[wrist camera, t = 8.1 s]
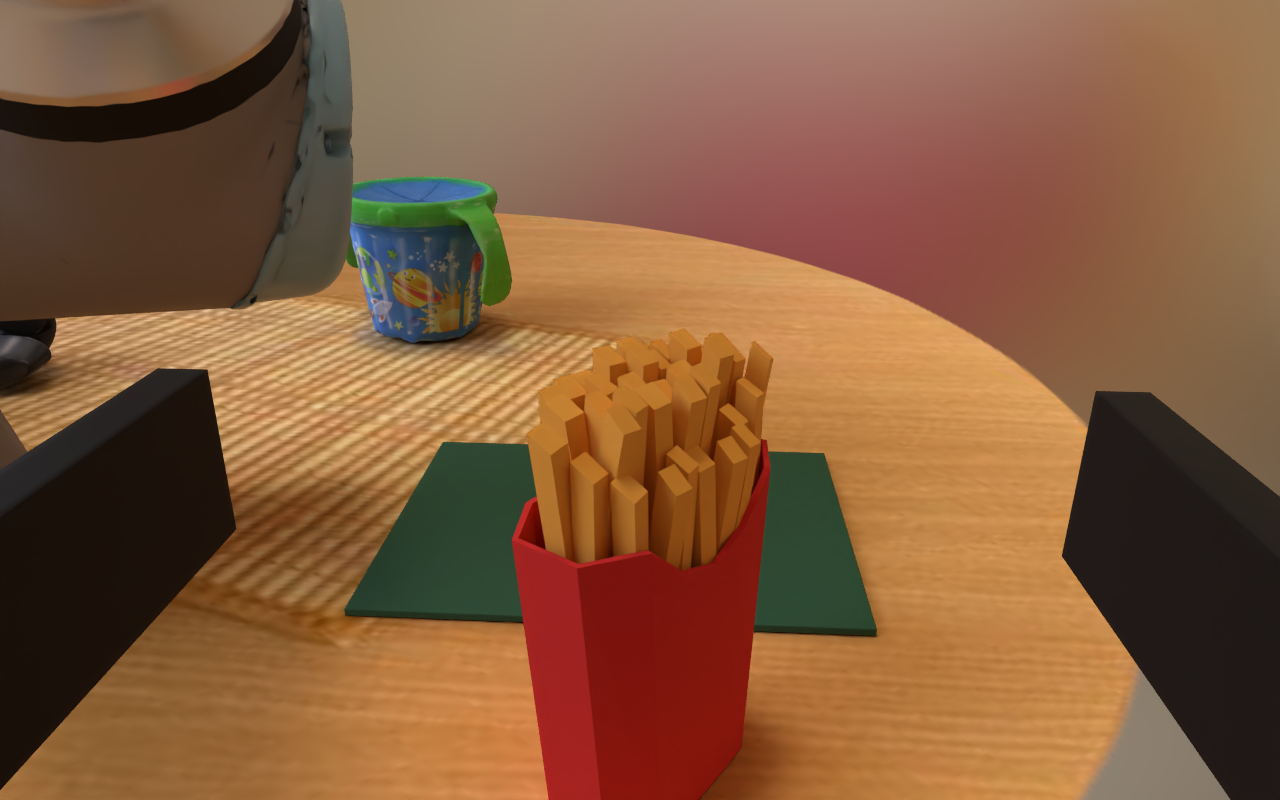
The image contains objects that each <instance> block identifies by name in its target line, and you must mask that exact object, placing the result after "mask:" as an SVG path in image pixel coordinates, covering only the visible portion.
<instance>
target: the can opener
mask: <svg viewBox="0 0 1280 800" xmlns="http://www.w3.org/2000/svg"><path fill="white" fill-rule="evenodd" d="M55 333H56V320H55V318H48V319H32V320H15V321H0V387H4V386H9V385H11V384H14V383H17V382H19V381H21V380H24V379H25V378H27V377H29V376H30V375H31V374H33V373H34V372H35V371H37V370H38V369H39V368H41V367H42V366H43V365H45V364H46V363H47V362H48V361H49V360H50V359H51V352H50V350H49V348H50V346H51V344H52V342H53V340H54V337H55Z"/></svg>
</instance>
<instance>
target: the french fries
mask: <svg viewBox="0 0 1280 800" xmlns="http://www.w3.org/2000/svg"><path fill="white" fill-rule="evenodd" d="M616 341H617V352H616V351H615V350H614V349H613V348H612V347H611V346H610V345H605V346H601V347H596V348H593V373H592V372H591V371H590V370H589V369H588V370H585V371H582V372H579V373H576V374H572V375H571V374H569V375H566V376H563V377H560V378H557V379H554V380H553V385H552V386H550V387H547V388H544V389H541V390H539V391H538V399H539V413H540V425H539V426H537V427H536V428H534V429H533V430H531V431H530V432H528V433H527V440H528V446H529V452H530V458H531V464H532V470H533V476H534V482H535V488H536V494H537V496H536V497H534V498H533V499H531V500H529V501H528V502H526V503H525V506H524V509H523V511H522V514H521V517H520V519H519V522H518V525H517V527H516V530H515V533H514V536H513V538H512V545H513V552H514V559H515V566H516V573H517V580H518V587H519V594H520V601H521V608H522V615H523V622H524V629H525V636H526V643H527V650H528V657H529V664H530V671H531V678H532V685H533V692H534V699H535V706H536V713H537V720H538V727H539V734H540V741H541V748H542V755H543V762H544V769H545V776H546V783H547V790H548V797H549V800H698V799H699V798H700V797H701V796H702V795H703V794H704V793H705V792H706V790H707V789H708V788H709V787H710V786H711V785H712V783H713V782H714V781H715V780H716V779H717V777H718V776H719V775H720V774H721V773H722V772H723V770H724V769H725V768H726V767H727V765H728V764H729V763H730V762H731V760H732V759H733V758H734V757H735V755H736V754H737V753H738V751H739V750H740V749H741V747H742V737H743V728H744V718H745V708H746V699H747V689H748V680H749V670H750V660H751V651H752V641H753V631H754V622H755V612H756V603H757V593H758V583H759V574H760V564H761V555H762V545H763V535H764V526H765V516H766V507H767V497H768V487H769V478H770V461H769V454H768V447H767V440H763V439H761V433H762V417H763V406H764V401H765V396H766V391H767V386H768V382H769V377H770V372H771V367H772V362H773V358H772V357H771V356H770V355H769V354H768V353H767V352H766V351H765V350H764V349H763V348H762V347H760V346H759V345H758V344H757V343H756V342H755V341H754V342H752V343H751V349H750V354H749V359H748V364H747V370H746V375H745V378H744V377H742V376H743V370H744V364H745V358H744V356H743V355H742V354H741V353H740V352H739V351H738V350H737V349H736V347H735V346H734V345H733V344H732V343H731V342H730V341H729V340H728V339H727V337H726V336H725V335H724V334H723V333H709V337H706V338H704V345H703V346H702V345H701V344H700V343H699V342H698V341H697V340H696V339H694V338H693V337H692V336H691V335H690V334H689V333H688V332H687V331H686V330H685V329H681V330H677V331H674V332H671V333H669V343H670V347H669V346H668V345H667V344H666V343H665V342H664V341H662V340H661V339H660V340H656V341H653V342H650V350H648V349H647V347H646V346H645V345H644V344H643V343H642V342H641V343H638V342H637V341H636V340H635V339H634V338H633V337H629V338H624V339H619V340H616Z"/></svg>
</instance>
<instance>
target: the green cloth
mask: <svg viewBox="0 0 1280 800" xmlns="http://www.w3.org/2000/svg"><path fill="white" fill-rule="evenodd" d="M768 454H769V461H770V478H769V487H768V497H767V507H766V516H765V526H764V535H763V545H762V555H761V564H760V574H759V583H758V593H757V603H756V612H755V622H754V631H764V632H790V633H816V634H842V635H868V636H876V633H877V629H876V625H875V622H874V619H873V615H872V612H871V609H870V605H869V602H868V599H867V595H866V592H865V588H864V585H863V582H862V578H861V575H860V572H859V568H858V565H857V562H856V558H855V555H854V552H853V548H852V545H851V542H850V538H849V535H848V532H847V528H846V525H845V522H844V518H843V515H842V512H841V508H840V505H839V502H838V498H837V495H836V492H835V488H834V485H833V482H832V478H831V475H830V472H829V468H828V465H827V462H826V458H825V455H824V453H798V452H768ZM536 496H537V494H536V488H535V482H534V476H533V470H532V464H531V458H530V452H529V446H528V444H496V443H462V442H443V443H442V445H441V446H440V448H439V450H438V451H437V453H436V455H435V457H434V458H433V460H432V462H431V463H430V465H429V467H428V468H427V470H426V472H425V473H424V475H423V477H422V479H421V480H420V482H419V484H418V485H417V487H416V489H415V490H414V492H413V494H412V496H411V497H410V499H409V501H408V502H407V504H406V506H405V507H404V509H403V511H402V512H401V514H400V516H399V518H398V519H397V521H396V523H395V524H394V526H393V528H392V529H391V531H390V533H389V534H388V536H387V538H386V540H385V541H384V543H383V545H382V546H381V548H380V550H379V551H378V553H377V555H376V556H375V558H374V560H373V562H372V563H371V565H370V567H369V568H368V570H367V572H366V573H365V575H364V577H363V579H362V580H361V582H360V584H359V585H358V587H357V589H356V590H355V592H354V594H353V595H352V597H351V599H350V601H349V602H348V604H347V606H346V607H345V609H344V610H345V615H351V616H377V617H403V618H429V619H455V620H480V621H506V622H523V615H522V608H521V601H520V594H519V587H518V580H517V573H516V566H515V559H514V552H513V545H512V538H513V536H514V533H515V530H516V527H517V525H518V522H519V519H520V517H521V514H522V511H523V509H524V506H525V503H526V502H528V501H529V500H531V499H533V498H534V497H536Z"/></svg>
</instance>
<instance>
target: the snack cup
mask: <svg viewBox="0 0 1280 800" xmlns="http://www.w3.org/2000/svg"><path fill="white" fill-rule="evenodd" d="M496 203H497V194H496V191H495V190H494V188H493V187H492V186H490V185H488V184H486V183H483V182H478V181H474V180H468V179H459V178H458V179H457V178H447V177H400V178H389V179H379V180H371V181H365V182H359V183H355V184H353V193H352V213H351V227H350V237H349V244H348V250H347V255H346V261H347V262H348V264H349V265H350V266H352V267H355V268H359V270H360V274H361V279H362V283H363V287H364V291H365V295H366V299H367V302H368V306H369V309H370V314H371V316H372V321H373V324H374V327H375V329H376V331H377V332H379V333H383V334H384V335H385V336H389V337H392V338H402V339H404V340H406V341H408V342H411V343H415V342H418V341H442V340H449V339H452V338H456V337H457V338H459V337H462V336H463V335H465V334H466V333H467V332H470V331H471V330H472V329H474V327H475V326H476V325H477V324H478V322H479V318H480V313H481V307H482V303H483V304H485V305H488V306H492V305H494V304H497V303H500V302H501V301H503V300H504V299H505V298H506V297H507V295H508V294H509V293H510V289H511V283H512V277H511V270H510V266H509V261H508V257H507V253H506V249H505V245H504V241H503V237H502V234H501V230H500V227H499V225H498V223H497V220H496V218H495V216H494V215H493V214H494V211H495V206H496Z"/></svg>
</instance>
